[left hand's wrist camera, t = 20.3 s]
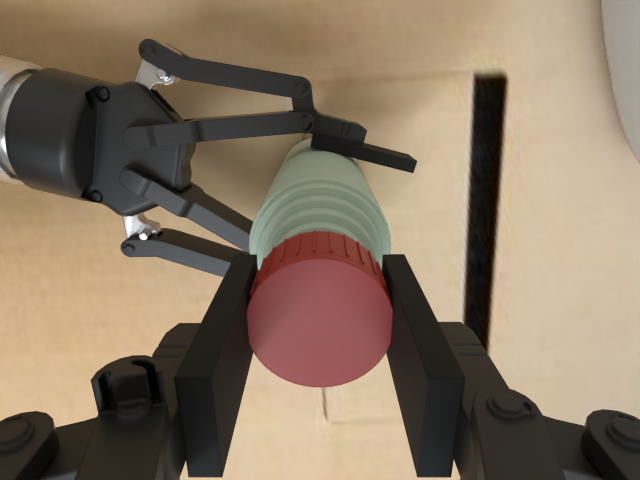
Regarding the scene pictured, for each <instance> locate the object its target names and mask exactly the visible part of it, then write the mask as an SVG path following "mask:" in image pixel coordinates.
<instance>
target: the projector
mask: <svg viewBox="0 0 640 480" xmlns="http://www.w3.org/2000/svg"><path fill="white" fill-rule="evenodd" d="M601 8H602V21H603V30H604V40H605V48H606V54H607V61H608V67H609V73H610V78H611V83H612V88H613V93H614V98H615V102H616V106H617V110H618V114H619V118H620V121H621V124H622V128H623V131H624V134H625V136H626V139H627V142H628V144H629V146H630V148H631V150H632V152H633V154H634V156H635V157H636V159H637V160H638V161H639V163H640V0H601Z"/></svg>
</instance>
